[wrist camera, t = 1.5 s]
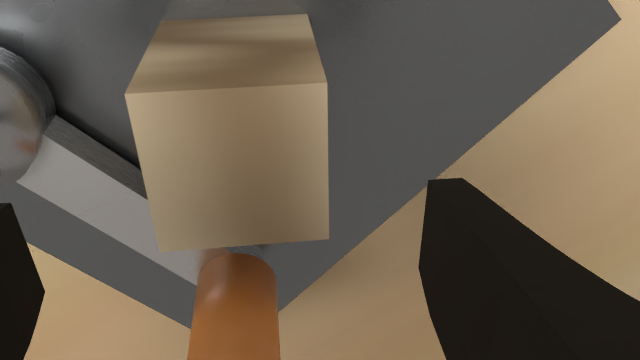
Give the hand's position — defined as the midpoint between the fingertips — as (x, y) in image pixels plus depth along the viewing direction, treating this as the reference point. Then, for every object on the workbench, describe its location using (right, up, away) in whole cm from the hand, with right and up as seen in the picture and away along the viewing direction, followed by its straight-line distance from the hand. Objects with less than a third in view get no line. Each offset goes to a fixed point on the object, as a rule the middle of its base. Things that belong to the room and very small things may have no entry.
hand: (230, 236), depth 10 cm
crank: (-5, +1, +7) cm, 9 cm away
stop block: (-1, +4, +6) cm, 7 cm away
